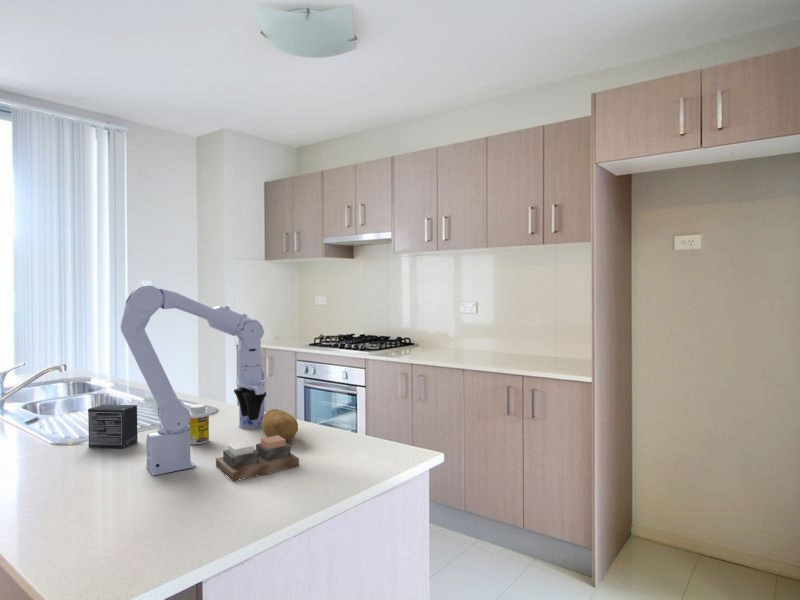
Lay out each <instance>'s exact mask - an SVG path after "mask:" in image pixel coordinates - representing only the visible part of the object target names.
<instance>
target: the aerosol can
mask: <svg viewBox="0 0 800 600" xmlns="http://www.w3.org/2000/svg"><path fill="white" fill-rule="evenodd" d="M261 380H264V381H265V372H264V370H263V369H262V368H261ZM263 386H264V387H265V384H263ZM239 388H240V387H238V389H239ZM238 407H239V409H238V411H239V412H238V413H239V414H238V415H239V417H238V418H239V420H238V421H239V424H238V428H239V429H241V430H257V429H261V428H262V419H263V416H264V415H265V399H264V400H263V402H262V405H261V408H260V412H259V417H258V419H256V420H249V417H248V416H242V413H241V408H240V404H239V403H238Z"/></svg>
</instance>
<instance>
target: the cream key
mask: <svg viewBox="0 0 800 600" xmlns="http://www.w3.org/2000/svg"><path fill="white" fill-rule="evenodd" d="M227 448H228V449H227V450H228V452H229V453H230V454H231V455H233V456H234V457H235V456H239V455H244V454H249V453H254V449H255V446H254V445H253V444H252V443H251V442H249V441H248V440H247V441H239V442H236V443H235V442H234V443H231V444H228V445H227Z"/></svg>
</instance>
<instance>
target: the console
mask: <svg viewBox="0 0 800 600" xmlns="http://www.w3.org/2000/svg"><path fill="white" fill-rule="evenodd" d="M291 449H292V447H291V444H288V443H287V442H286V446H283V447H278V448H274V449H269V450H267V449H265V448H264V447H262V446H261V442H260V443H256V444H255V448H254V453H249V454H244V455H239V456H235V457H234V456H233V455H231V454H230V453H229V452H228V449H225V450H222V456H219V457H215V467H216V468H217V469H218V470H219V469H220V470H219V471H220V472H221V473H223V474H224V475H225V476H226V475H227V476H228V477H229V478H230V479H231V480H230V479H229V478H228V477H227V476H226V477H227V478H228V479H229V480H230V481H232V482H233V481H234V482H237V481H236V480H239V479H243V478H247V479H250V478H249V477H251V478H254V477H253V476H255V477H257V476H256V475H260V476H262V475H261V474H264V475H267V474H266V473H268V474H270V473H269V472H272V473H275V472H274V471H277V472H280V471H279V470H281V471H284V470H283V469H285V470H288V469H287V468H289V469H293V467H294V468H298V467H300V457H298V456H296V455H295V454H293V453H292V452H291V451H292V450H291ZM297 466H298V467H297ZM243 480H244V479H243ZM239 481H240V480H239Z"/></svg>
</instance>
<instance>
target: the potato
mask: <svg viewBox="0 0 800 600" xmlns="http://www.w3.org/2000/svg"><path fill="white" fill-rule="evenodd" d="M261 428H262V430H263V433H264V435H265V437H271V436H276V435H279V436H280V437H282V438H284V439H285V440H286V442H288V441H289V440H291V439H293V438H294V437H295V436H296V435H297V433H298V431H299V423H298V421H297V418H295V417H294V416H293V415H292V414H290V413H289V412H286V411H284V410H281V409H275V408H274V409H273V408H271V409H269V410H268V411H267V412H264V416H263V419H262V427H261Z"/></svg>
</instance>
